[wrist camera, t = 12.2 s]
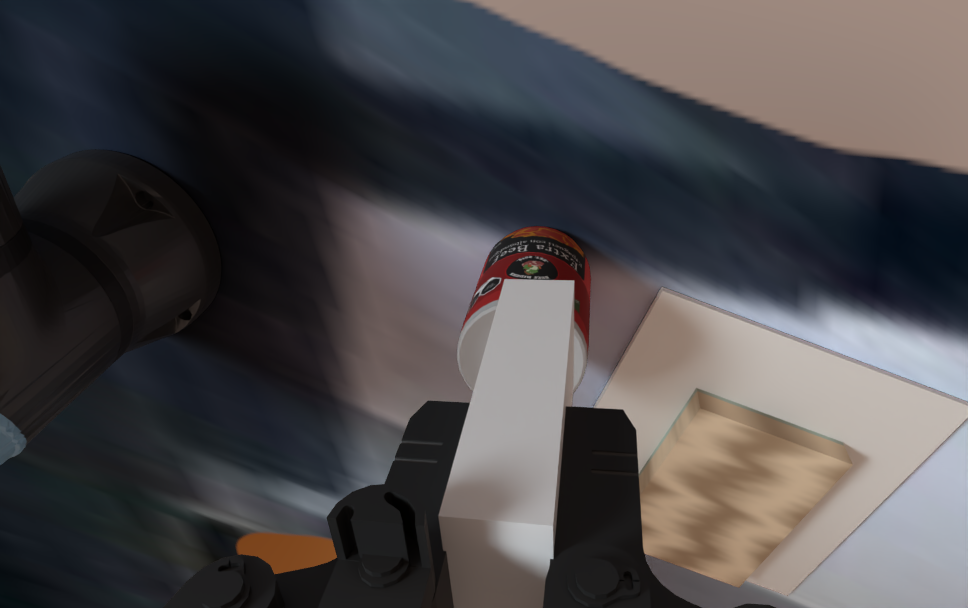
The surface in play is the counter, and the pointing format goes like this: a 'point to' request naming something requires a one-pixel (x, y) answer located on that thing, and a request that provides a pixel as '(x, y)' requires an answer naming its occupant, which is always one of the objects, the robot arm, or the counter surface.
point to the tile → (731, 486)
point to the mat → (783, 411)
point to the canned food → (530, 259)
